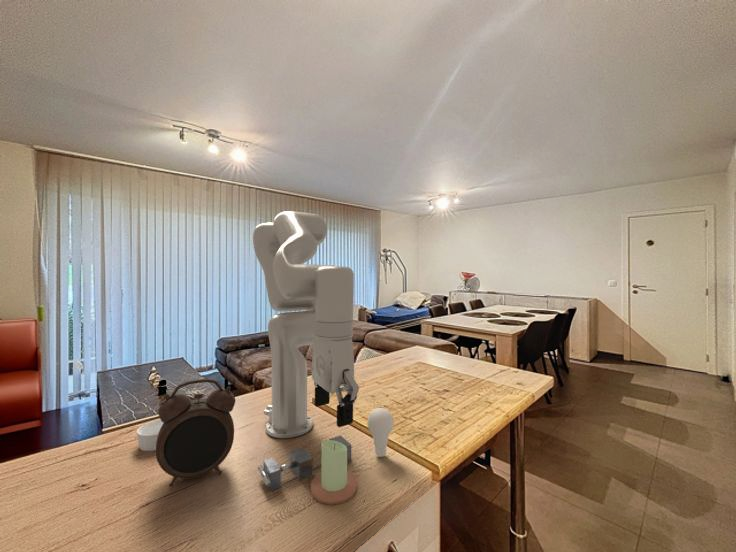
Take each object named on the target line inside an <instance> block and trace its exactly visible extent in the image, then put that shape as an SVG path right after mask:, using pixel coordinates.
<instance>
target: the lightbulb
mask: <svg viewBox="0 0 736 552" xmlns="http://www.w3.org/2000/svg"><path fill="white" fill-rule="evenodd" d="M366 421H367V427H368V428H367V429H368V431H369V432H370V434H371V436H372V438H373V446H374V452H375V455H376V456H377V457H379V458H382V457H385V455H386V454H387V447H388V440H389V437H390V434H391V432H392V431H393V429H394V425H395V420H394V417H393V414H392V413H391V412H390V411H389V409H387V408H383V407H377V408H375V409H373V410H372V411H371V412H370V413H369V415H368V417H367V420H366Z"/></svg>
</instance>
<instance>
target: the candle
mask: <svg viewBox="0 0 736 552" xmlns="http://www.w3.org/2000/svg"><path fill="white" fill-rule="evenodd" d="M347 471H348V462H347V447H346V446H345V445H344V444H342V443H340V442H337V441H333V440H330V439H326V440H323V441H321V472H322V487H323V488H324V489H325V490H327V491H330V492H336V491H340V490H342V489H343V488H344V487H345V486H346V485H347Z"/></svg>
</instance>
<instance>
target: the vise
mask: <svg viewBox="0 0 736 552" xmlns="http://www.w3.org/2000/svg"><path fill="white" fill-rule="evenodd" d="M329 440H333V441H337V442H340V443H342V444H344V445H345V446H346V447H347V463H348V462H351V461H352V444H351V443H350V442H348V440H346V438H344V437H343V436H342V435H338V436H335V437H333V438H329ZM313 461H314V459H313V457H312V456H311V454H310V453H309V452H308V451H307V450H306V448H305V447H304V446H303V447H301V448H298V449H294V450H292V451H290V462H288V463H285V464H283V465H279V464H278V463H277V460H275V457H270V458H267V459H264V460H263V465H261V464H259V465H258V467H257V470H258V471H259V474H260V477H262V480H263V482H264V483H265V485H266V486H267V487H268V489H269V491H270V492H272V491H274V490H277V489H280V488H282V473H284V472H287V471H290V470H292V472H293V474H295V477H296V478H297V479H298V481H301V480H303V479H306V478H308V477H311V476H313V475H314V465H313V464H314V462H313Z"/></svg>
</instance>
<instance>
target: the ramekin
mask: <svg viewBox="0 0 736 552" xmlns="http://www.w3.org/2000/svg"><path fill="white" fill-rule="evenodd" d="M163 423H164V422H162V421H161V419H160V418H159V419H155V420H153V421H149V422H147V423H144V424H143V425H141V426H139V428H137V430H136V436H137V440H138V441H137V442H138V447H139V449H140V450H141V451H144V452H153V451H155V452H156V441H157V437H158V433H159V431H160V429H161V427H162V425H163Z"/></svg>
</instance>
